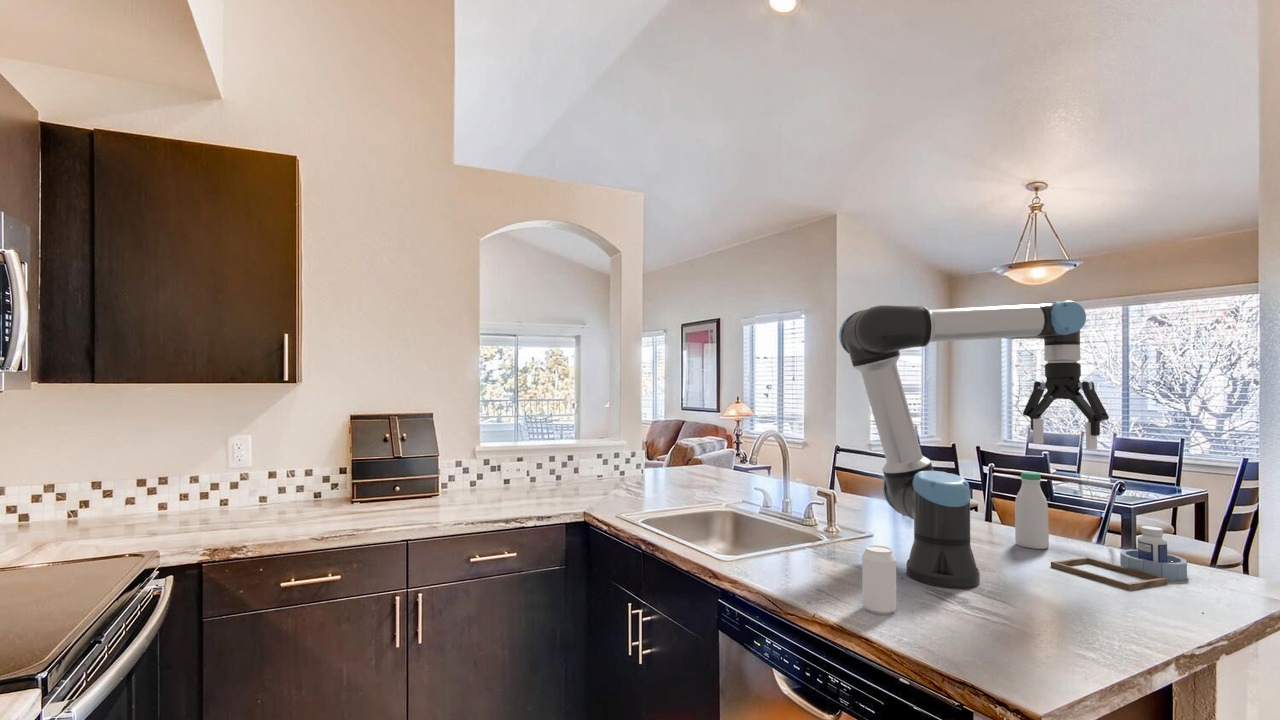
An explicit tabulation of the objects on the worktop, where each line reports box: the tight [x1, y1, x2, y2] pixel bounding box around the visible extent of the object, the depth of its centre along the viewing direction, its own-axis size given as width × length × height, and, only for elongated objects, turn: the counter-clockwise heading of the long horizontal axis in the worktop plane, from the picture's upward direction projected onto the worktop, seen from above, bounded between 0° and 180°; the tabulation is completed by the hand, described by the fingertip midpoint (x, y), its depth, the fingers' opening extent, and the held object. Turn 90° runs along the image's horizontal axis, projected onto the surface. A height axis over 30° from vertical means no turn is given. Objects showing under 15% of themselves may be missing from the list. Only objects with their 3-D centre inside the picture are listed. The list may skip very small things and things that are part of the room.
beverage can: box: [861, 544, 897, 616], centre depth 120 cm, size 6×6×12 cm
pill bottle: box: [1137, 525, 1168, 563], centre depth 145 cm, size 5×5×10 cm
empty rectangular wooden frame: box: [1050, 556, 1168, 591], centre depth 143 cm, size 13×18×1 cm
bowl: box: [1119, 548, 1188, 581], centre depth 145 cm, size 12×12×4 cm
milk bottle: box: [1014, 471, 1050, 550], centre depth 168 cm, size 8×8×20 cm
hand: (1063, 446), depth 155 cm, fingers open, 13 cm apart
